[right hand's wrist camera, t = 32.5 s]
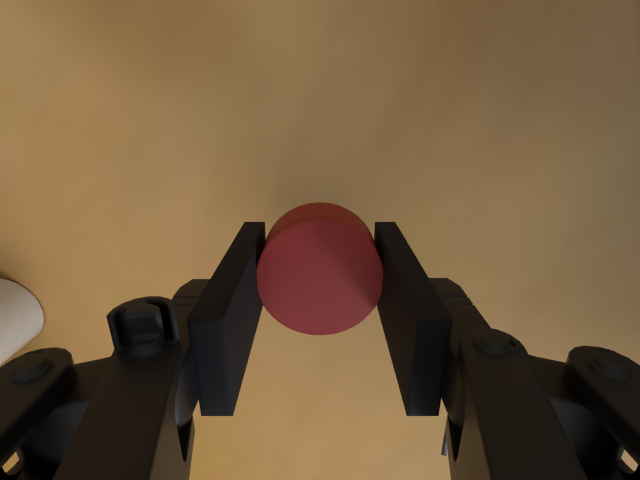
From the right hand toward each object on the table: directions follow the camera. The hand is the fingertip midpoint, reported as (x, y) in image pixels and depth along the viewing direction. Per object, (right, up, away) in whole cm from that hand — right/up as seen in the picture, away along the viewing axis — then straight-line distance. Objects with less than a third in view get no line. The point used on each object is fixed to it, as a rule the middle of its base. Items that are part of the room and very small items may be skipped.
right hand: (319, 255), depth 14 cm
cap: (0, -1, -2) cm, 2 cm away
